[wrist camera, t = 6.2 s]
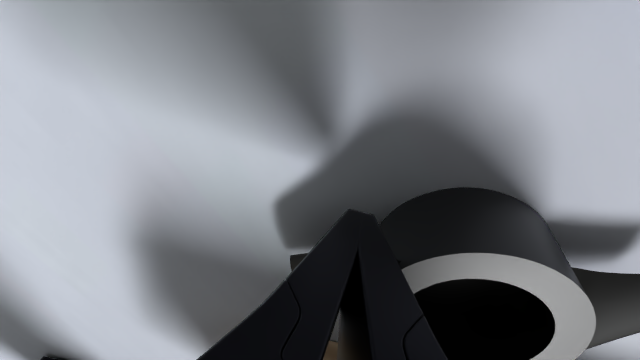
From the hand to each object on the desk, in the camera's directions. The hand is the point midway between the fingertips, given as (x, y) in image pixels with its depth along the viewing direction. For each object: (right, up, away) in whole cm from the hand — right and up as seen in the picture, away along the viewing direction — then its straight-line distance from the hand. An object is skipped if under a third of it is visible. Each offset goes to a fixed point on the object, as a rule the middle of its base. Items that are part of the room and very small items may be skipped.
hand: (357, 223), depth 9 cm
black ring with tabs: (+4, -1, +3) cm, 5 cm away
